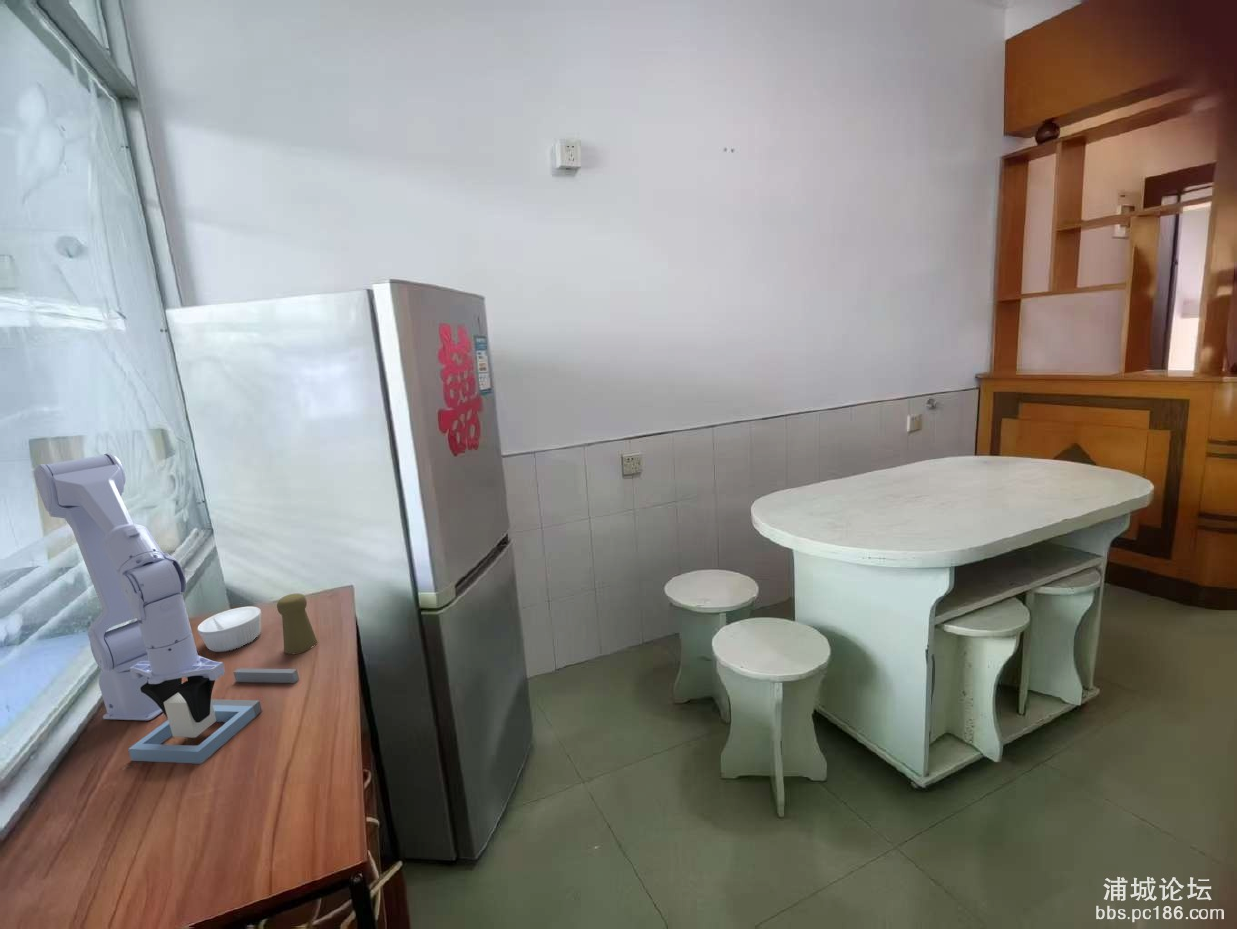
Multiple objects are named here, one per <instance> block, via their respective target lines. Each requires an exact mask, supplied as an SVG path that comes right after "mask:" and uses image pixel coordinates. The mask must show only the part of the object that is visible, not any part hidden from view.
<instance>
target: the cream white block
mask: <svg viewBox="0 0 1237 929" xmlns="http://www.w3.org/2000/svg"><path fill="white" fill-rule="evenodd" d="M163 703H164V706H165V710H166V714H167V717H168V718H167V717H166V718H167V720H168V721H169V724H170V728H171V732H172V737H173V738H194V739H195V738H197V737H198V736H199V735H201V734H203V732H204V731H206V730H207V729H209V727H210V726H212V725H213V724H215V723H217V722H216V721H217V720H216V716H215V713H214V709H213V705H212V701H211V703H210V715H209V716H207V717H206V718H205V719H204V720H202V721H201V722H199V723H198V722H195V720H194V719H193V717H192V715H191V712H190V709H189V707H188V704H187V703H186V701H185V700H184V698H183V697H182V696H181V695H180V694H179V693H176V694H175V695H173V696H172V697H171V698H169V699H168V700H166V701H165V702H163Z"/></svg>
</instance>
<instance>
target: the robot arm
mask: <svg viewBox="0 0 1237 929" xmlns="http://www.w3.org/2000/svg"><path fill="white" fill-rule="evenodd" d="M34 479H35V484H36V488H37V490H38V492H39V496H40V498H41V501H42V503H43V505H44V509H45V511H46V512H48V514H49V517H52V518H60V519H64V520H65V521H66V523H67V524H68V525H69V527H70V528H71V530H72V532H73V534H74V538H75V541H76V542H77V546H78V548H79V551H80V553H81V556H82V559H83V561H84V564H85V566H86V569H87V572H88V575H89V577H90V580H91V582H92V585H93V588H94V589H95V593H96V596H97V598H98V602H99V603H100V606H101V609H102V611H101V612H100V614H99V615H98V616H97V618H95V620H94V621H93V622H92V623H91V625H89V626H88V631H87V636H88V640H89V647H90V651H91V654H92V657H93V659H94V661H95V663H96V665H97V666H98V668H100V669H101V671H100V673H99V675H98V676H99V677H98V686H99V689H100V692H101V696H102V700H103V703H104V707H105V710H106V714H104V715H102V719H103V720H121V721H123V720H124V721H150V720H153V719H155V717H157V716H159V715H160V714H161V713H163V714H164V715H165V717H166V718H167V719H168V717H167V714H166V710H165V706H164V703H163V702H165V701H166V700H168V699H169V698H171V697H172V696H173V695H175V694H176V693H179V694H180V695H181V696H182V697H183V698H184V700H185V701H186V703H187V704H188V707H189V709H190V712H191V715H192V717H193V719H194V720H195V722H198V723H199V722H201V721H202V720H204V719H205V718H206V717H207V716H209V715H210V703H211V699H212V694H213V690H214V687H215V684H216V683H215V682H216V681H217V680H218V679H219V678H220V677H222V676H224V675H225V674H226V671H225V666H224V662H223V661H216V660H211V659H209V658H206V657H204V656H201V655H198V652H197V647H196V642H195V639H194V635H193V631H192V628H191V624H190V620H189V616H188V612H187V608H186V604H185V601H184V597H183V594H181V593H185V592H186V591H187V580H186V576H185V573H184V570H183V568H182V566H181V564H180V563H179V561H178V559H176V558H175V557H174V556H171V555H170V554H169V552H163V551H162V549H161V547H160V546H159V544H158V543H157V542H156V539H155V538H154V536H153V535H152V534H151V532H150V530H149V529H148V527H146V526H144V525H141V524H137V523H136V524H134V521H133V520H132V517H131V515H130V513H129V511H128V509H127V507H126V504H125V503H124V500H123V499H122V495H123V493H124V489H125V485H126V473H125V469H124V468H123V465H122V463H121V460H120V459H119V457H118V456H116V455H115V454H113V453H111V452H108V453H105V454H101V455H94V456H90V457H89V456H88V457H83V458H78V459H77V458H76V459H72V460H65V461H59V462H54V463H53V462H52V463H48V464H44V463H41V464H38V465H37V467H36V468H34ZM135 619H137V620H135ZM133 620H135V621H133ZM130 621H133V622H130ZM126 622H130V623H127V624H124V623H126ZM121 624H123V625H122V626H119V627H116V628H113V627H115V626H118V625H121ZM112 628H113V629H112ZM109 629H110V630H109ZM185 678H186V679H187V680H186V681H183V679H185ZM182 681H183V682H182Z"/></svg>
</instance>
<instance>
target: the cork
mask: <svg viewBox="0 0 1237 929" xmlns="http://www.w3.org/2000/svg"><path fill="white" fill-rule="evenodd" d="M307 603H308V602H307V598H306V597H305V595H304V594H303V593H290V594H287V595H283V596H282V597H281V598H279V599H278V601H277V604H276V609H277V611H278V614H279V615H281V621H282V635H283V652H284V653H285V654H286V653H289V654H288V655H294V654H293V653H298V654H301V652H302V653H304V651H305V652H307V651H309V650H311V649H312V648H311V647H312V646H314V645H315V644H316V643H317V644H318V640H317V637H316V634H315V632H314V630H313V627H312V624H311V621H310V619H309V616H308V613H307V610H306V607H307ZM317 644H316V645H317ZM316 645H315V646H316ZM315 646H314V647H315ZM310 648H311V649H310ZM308 649H309V650H308ZM306 650H307V651H306Z"/></svg>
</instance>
